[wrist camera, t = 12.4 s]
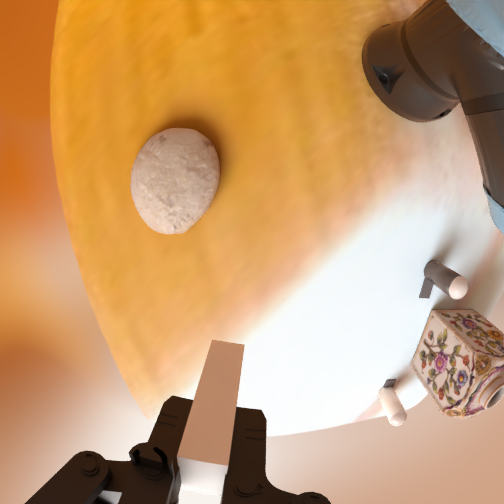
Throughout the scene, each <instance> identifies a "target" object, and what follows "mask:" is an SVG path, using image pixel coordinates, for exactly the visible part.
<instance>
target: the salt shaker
mask: <svg viewBox="0 0 504 504" xmlns="http://www.w3.org/2000/svg"><path fill="white" fill-rule="evenodd" d="M377 396H378V398H379V400H380V402H381V404H382V407H383V409H384V411H385V413H386V415H387V418H388V420H389V422H390V423H391V424H392V425H393V426H400V425H402V424H403V423H404V422H405V420H406V418H407V414H406V412H405V410H404V408H403V406H402V404H401V402H400V400H399V398H398V396H397V395H396V393H395V391H394V389H393V387H391V386H388V387H385V388H381V389H380V390H379V392H378V394H377Z"/></svg>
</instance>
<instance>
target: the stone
mask: <svg viewBox="0 0 504 504" xmlns="http://www.w3.org/2000/svg"><path fill="white" fill-rule="evenodd" d="M219 180H220V163H219V158H218V154H217V152H216V149H215V147H214V145H213V143H212V142H211V140H210V139H208V138H207V137H206V136H204V135H203V134H201V133H200V132H198V131H197V130H194V129H189V128H169V129H166V130H164V131H162V132H159V133H157V134H155V135H153V136H152V137H151V138H150V139H149V140H148V141H147V142H146V143H145V144H144V146H143V147H142V148H141V150H140V151H139V153H138V155H137V157H136V159H135V162H134V165H133V168H132V172H131V186H130V187H131V193H132V197H133V201H134V204H135V206H136V208H137V211H138V212H139V214H140V216H141V218H142V219H143V220H144V221H145V223H146V224H147V225H148V226H149V227H150V228H151V229H153V230H154V231H156V232H159V233H163V234H177V233H184V232H186V231H187V230H188V229H189V228H190V227H192V226H193V225H194V224H195V223H196V222H197V221H198V220H199V219H200V218H201V217H202V216H203V215H204V214H205V212H206V211H207V210H208V208H209V207H210V205H211V203H212V201H213V199H214V196H215V194H216V191H217V189H218V186H219Z"/></svg>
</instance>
